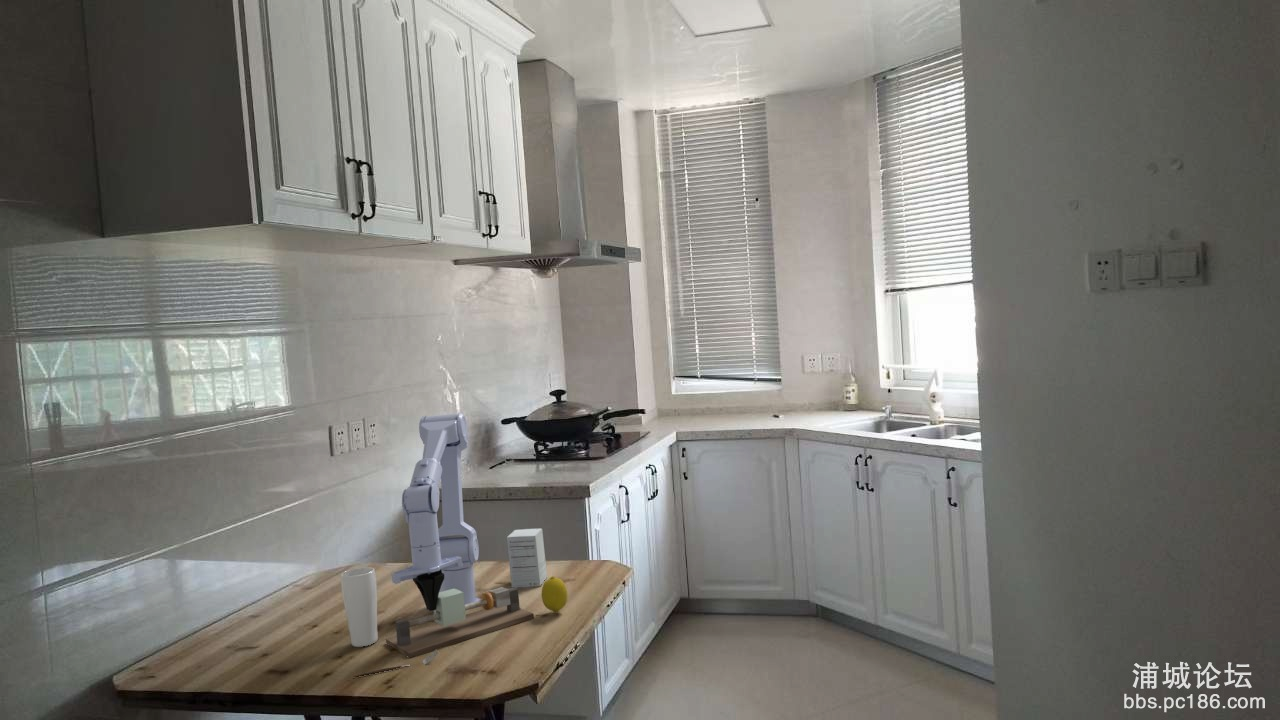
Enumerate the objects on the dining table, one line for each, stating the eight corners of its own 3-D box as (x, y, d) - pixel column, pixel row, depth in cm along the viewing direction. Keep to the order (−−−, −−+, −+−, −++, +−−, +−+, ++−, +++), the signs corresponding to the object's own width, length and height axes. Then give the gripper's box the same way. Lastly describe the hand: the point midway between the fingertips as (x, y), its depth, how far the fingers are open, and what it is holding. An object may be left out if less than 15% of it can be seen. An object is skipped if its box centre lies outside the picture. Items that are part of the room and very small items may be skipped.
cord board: (386, 643, 175) (383, 613, 174) (506, 606, 192) (504, 579, 192) (409, 658, 165) (406, 626, 165) (533, 618, 182) (531, 589, 182)
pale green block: (434, 621, 177) (432, 594, 177) (456, 615, 180) (454, 588, 180) (443, 626, 174) (441, 598, 174) (466, 619, 177) (463, 592, 177)
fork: (350, 678, 159) (349, 667, 159) (437, 659, 164) (436, 648, 164) (351, 683, 156) (350, 672, 156) (439, 663, 162) (438, 653, 162)
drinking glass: (372, 634, 181) (365, 565, 180) (387, 641, 176) (380, 569, 175) (341, 645, 176) (334, 573, 176) (356, 652, 171) (349, 578, 171)
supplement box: (519, 579, 213) (514, 529, 213) (547, 577, 212) (543, 527, 212) (510, 588, 206) (505, 536, 206) (540, 587, 205) (535, 535, 205)
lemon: (564, 617, 181) (561, 579, 181) (540, 617, 182) (536, 580, 182) (572, 608, 187) (568, 572, 186) (547, 608, 188) (544, 573, 188)
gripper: (398, 555, 167) (405, 623, 167) (466, 538, 175) (472, 603, 176) (385, 549, 172) (391, 615, 173) (451, 534, 181) (457, 597, 181)
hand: (431, 609), depth 175 cm, fingers closed
